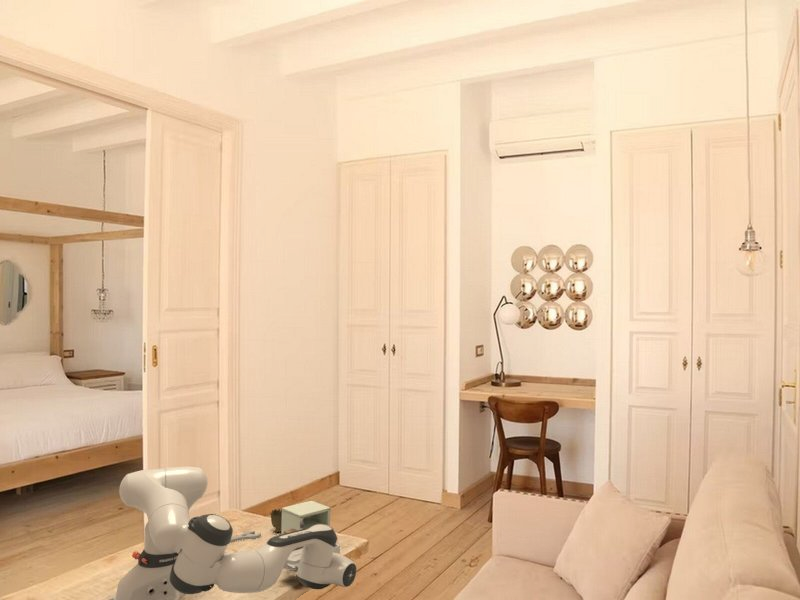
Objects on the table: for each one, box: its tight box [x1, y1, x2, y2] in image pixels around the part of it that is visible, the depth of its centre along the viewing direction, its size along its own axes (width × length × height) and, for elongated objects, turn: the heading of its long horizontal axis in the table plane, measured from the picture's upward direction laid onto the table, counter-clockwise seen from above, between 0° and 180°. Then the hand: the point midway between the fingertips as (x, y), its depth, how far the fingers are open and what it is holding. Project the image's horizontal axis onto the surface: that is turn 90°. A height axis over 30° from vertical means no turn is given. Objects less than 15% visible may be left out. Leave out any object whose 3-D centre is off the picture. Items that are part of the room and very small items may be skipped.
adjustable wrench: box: [230, 530, 262, 543], centre depth 246 cm, size 25×6×2 cm, turn 123°
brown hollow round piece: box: [270, 508, 282, 533], centre depth 258 cm, size 8×7×8 cm
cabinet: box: [280, 500, 331, 535], centre depth 246 cm, size 15×13×13 cm
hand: (295, 548), depth 223 cm, fingers open, 8 cm apart
